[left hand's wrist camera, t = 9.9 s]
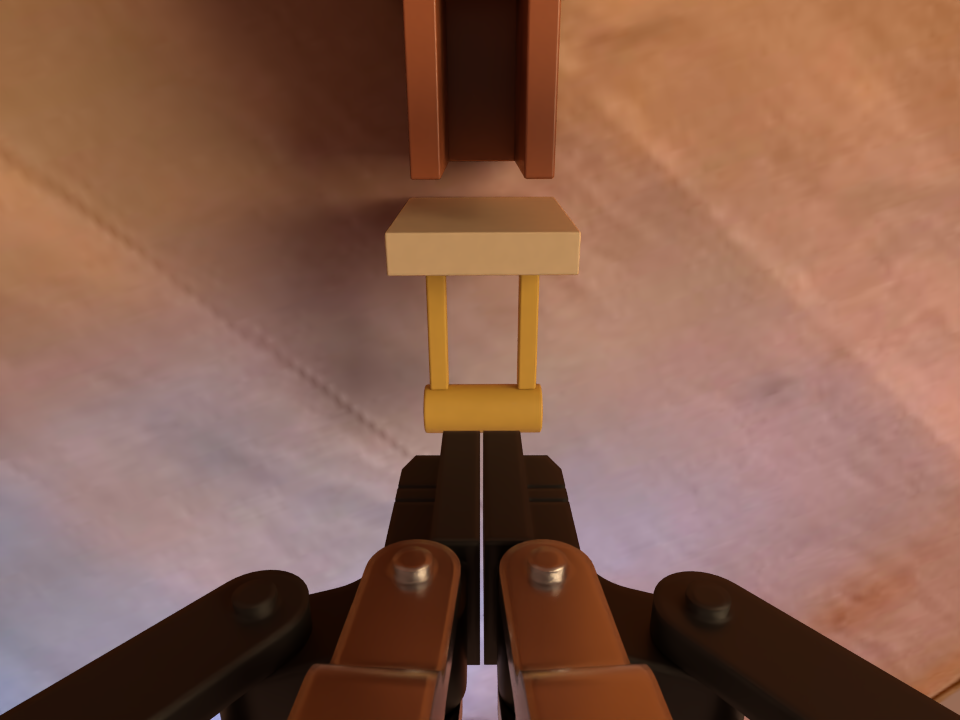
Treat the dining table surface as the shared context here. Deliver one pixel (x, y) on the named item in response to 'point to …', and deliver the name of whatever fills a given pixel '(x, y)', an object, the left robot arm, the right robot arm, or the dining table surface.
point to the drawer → (482, 220)
